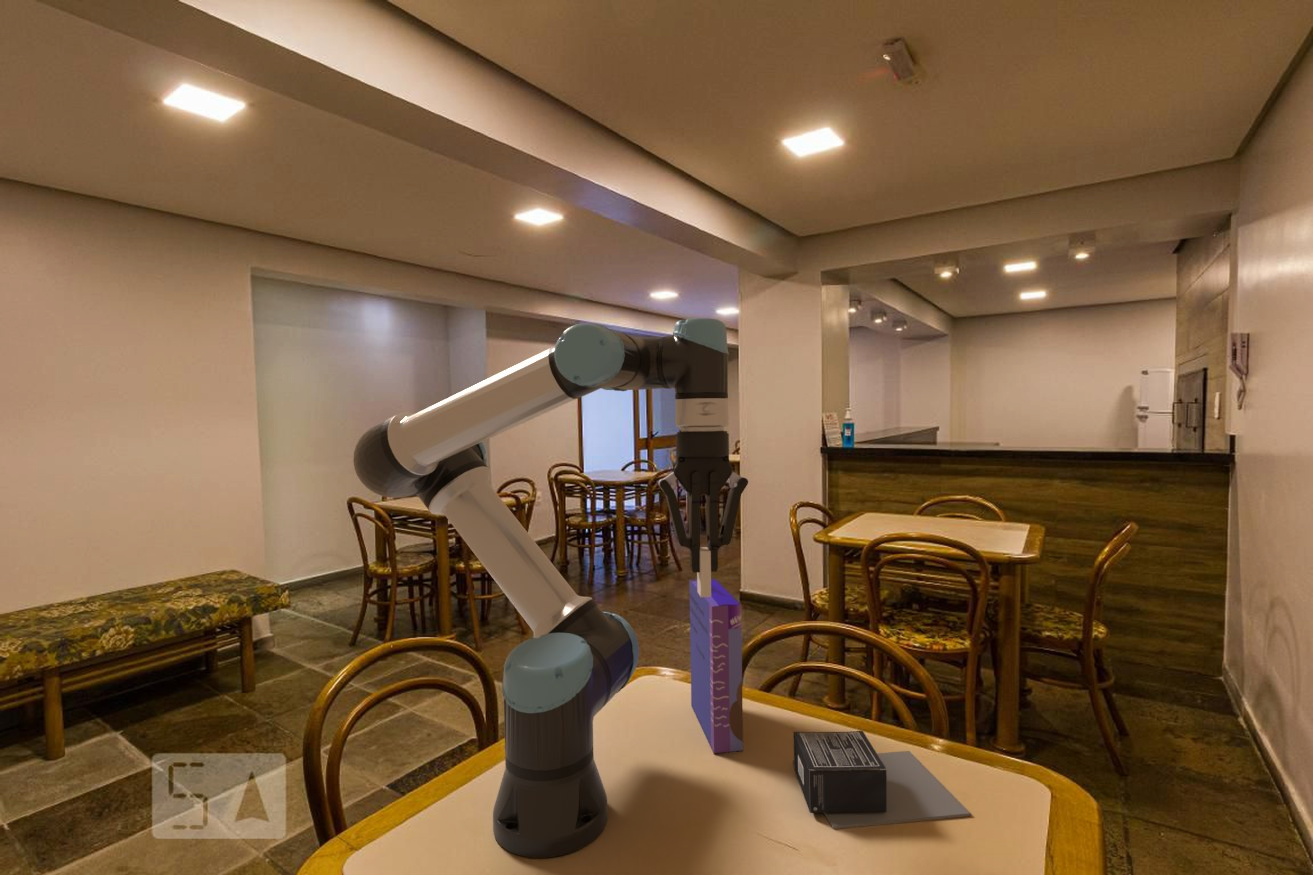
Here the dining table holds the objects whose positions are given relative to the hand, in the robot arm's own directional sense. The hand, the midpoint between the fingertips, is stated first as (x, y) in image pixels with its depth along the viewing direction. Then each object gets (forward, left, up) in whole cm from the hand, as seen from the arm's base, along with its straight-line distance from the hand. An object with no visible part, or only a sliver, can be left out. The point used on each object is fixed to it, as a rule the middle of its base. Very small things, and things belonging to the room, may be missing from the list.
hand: (704, 594), depth 91 cm
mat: (+24, -3, -28) cm, 37 cm away
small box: (+13, -3, -25) cm, 28 cm away
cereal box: (+5, +18, -29) cm, 34 cm away
